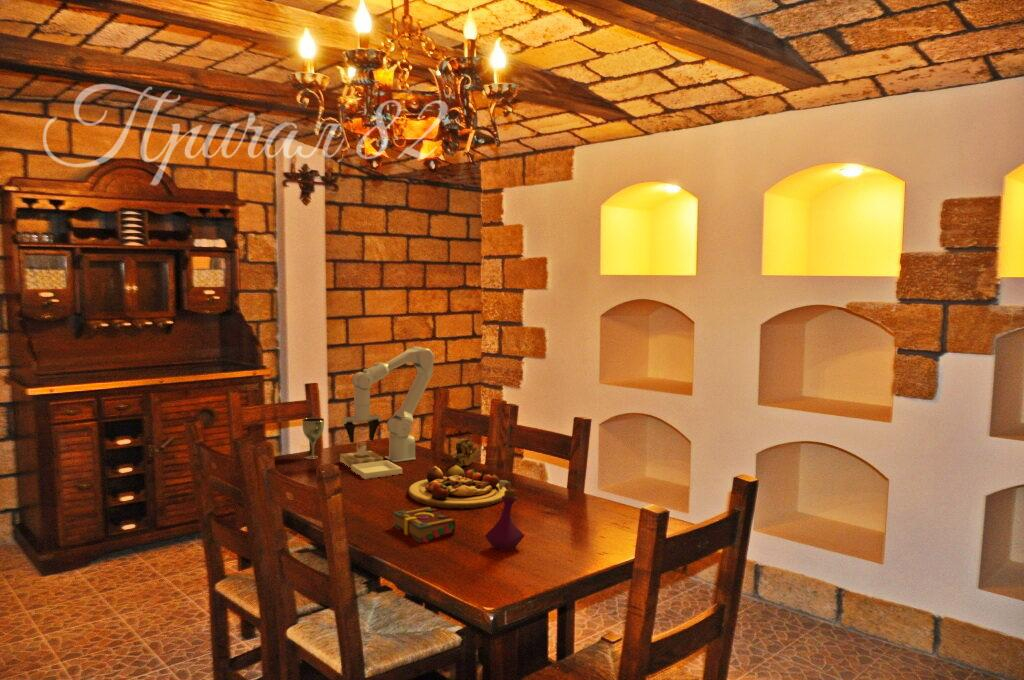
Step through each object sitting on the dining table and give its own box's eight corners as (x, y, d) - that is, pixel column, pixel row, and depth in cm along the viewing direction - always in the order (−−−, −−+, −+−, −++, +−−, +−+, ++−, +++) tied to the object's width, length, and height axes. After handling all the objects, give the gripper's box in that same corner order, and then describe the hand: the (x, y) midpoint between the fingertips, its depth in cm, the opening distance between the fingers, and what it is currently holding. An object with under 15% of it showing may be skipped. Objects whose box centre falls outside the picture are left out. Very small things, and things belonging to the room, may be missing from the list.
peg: (364, 462, 274) (364, 441, 274) (367, 464, 271) (368, 443, 271) (355, 463, 272) (355, 442, 272) (358, 465, 269) (358, 444, 269)
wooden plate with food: (462, 518, 214) (463, 490, 214) (387, 495, 234) (388, 469, 233) (526, 496, 240) (528, 471, 239) (454, 477, 259) (455, 454, 259)
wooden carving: (463, 471, 265) (463, 444, 264) (451, 470, 266) (451, 443, 265) (478, 461, 280) (479, 435, 280) (467, 459, 282) (468, 434, 281)
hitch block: (370, 458, 280) (370, 450, 280) (383, 465, 270) (383, 457, 270) (340, 462, 274) (340, 454, 273) (352, 469, 264) (352, 461, 263)
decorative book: (428, 520, 211) (428, 503, 211) (458, 537, 198) (458, 519, 198) (392, 527, 204) (392, 510, 204) (421, 545, 192) (421, 526, 191)
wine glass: (328, 458, 279) (328, 419, 278) (312, 462, 272) (312, 422, 271) (313, 454, 283) (313, 416, 282) (297, 458, 277) (297, 419, 275)
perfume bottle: (502, 540, 196) (504, 474, 194) (524, 547, 191) (526, 480, 189) (484, 548, 190) (485, 480, 188) (506, 555, 185) (508, 485, 184)
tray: (387, 466, 269) (387, 460, 269) (402, 474, 259) (402, 468, 258) (350, 470, 262) (350, 464, 262) (364, 479, 251) (364, 473, 251)
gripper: (376, 401, 277) (375, 437, 278) (339, 404, 269) (338, 440, 270) (383, 404, 271) (383, 440, 273) (346, 407, 263) (345, 444, 265)
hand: (361, 441), depth 271 cm, fingers open, 7 cm apart
